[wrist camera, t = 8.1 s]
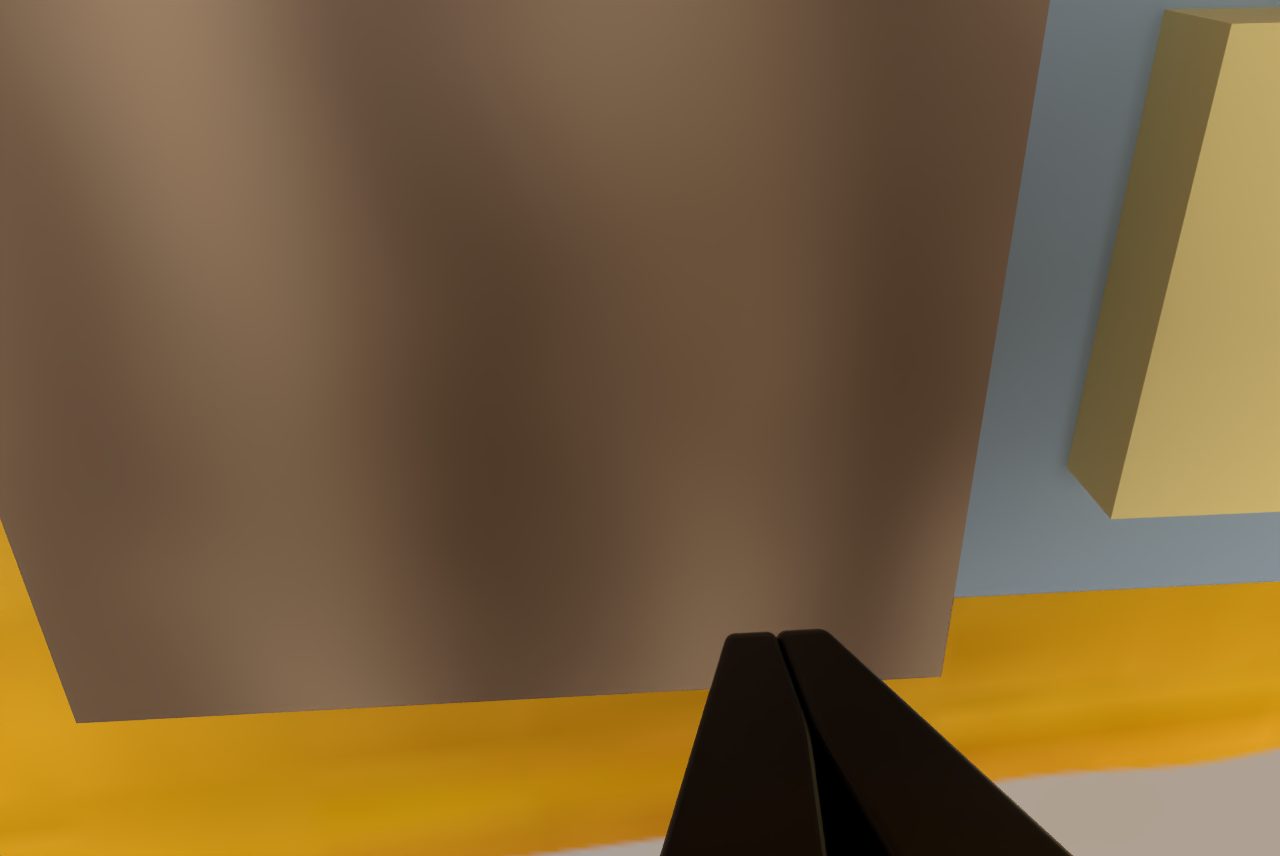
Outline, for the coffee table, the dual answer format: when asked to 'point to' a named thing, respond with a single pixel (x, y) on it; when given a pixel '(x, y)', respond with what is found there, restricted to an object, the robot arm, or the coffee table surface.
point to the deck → (494, 337)
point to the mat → (1080, 339)
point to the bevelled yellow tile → (1193, 285)
